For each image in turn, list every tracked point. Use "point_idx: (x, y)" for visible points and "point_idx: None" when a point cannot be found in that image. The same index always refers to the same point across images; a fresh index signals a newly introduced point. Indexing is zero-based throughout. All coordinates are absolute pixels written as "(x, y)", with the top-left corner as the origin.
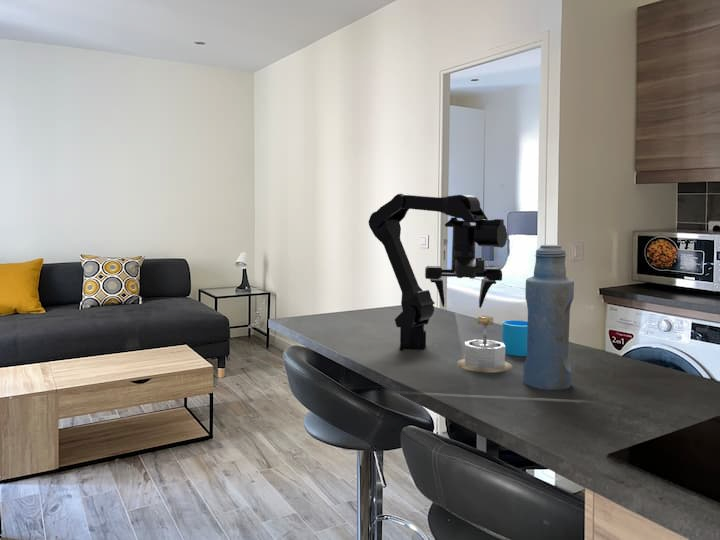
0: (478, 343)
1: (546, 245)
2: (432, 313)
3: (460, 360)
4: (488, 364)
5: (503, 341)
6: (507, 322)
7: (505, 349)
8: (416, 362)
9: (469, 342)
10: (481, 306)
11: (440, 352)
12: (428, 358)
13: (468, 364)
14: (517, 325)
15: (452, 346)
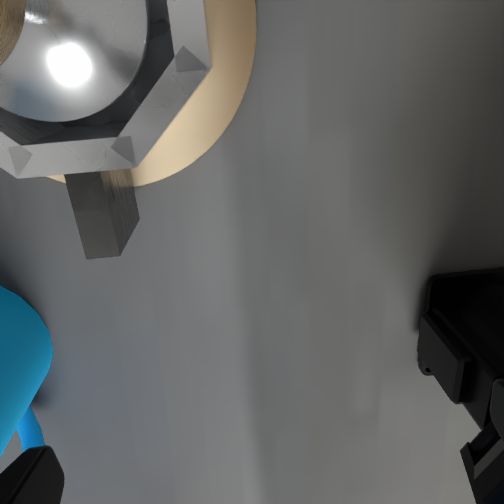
0: (91, 19)
1: None
2: (483, 485)
3: (237, 93)
4: None
5: (7, 356)
6: None
7: (10, 318)
8: (485, 32)
9: (172, 60)
10: (17, 460)
11: (344, 276)
12: (411, 142)
13: None
14: None
15: (288, 390)
